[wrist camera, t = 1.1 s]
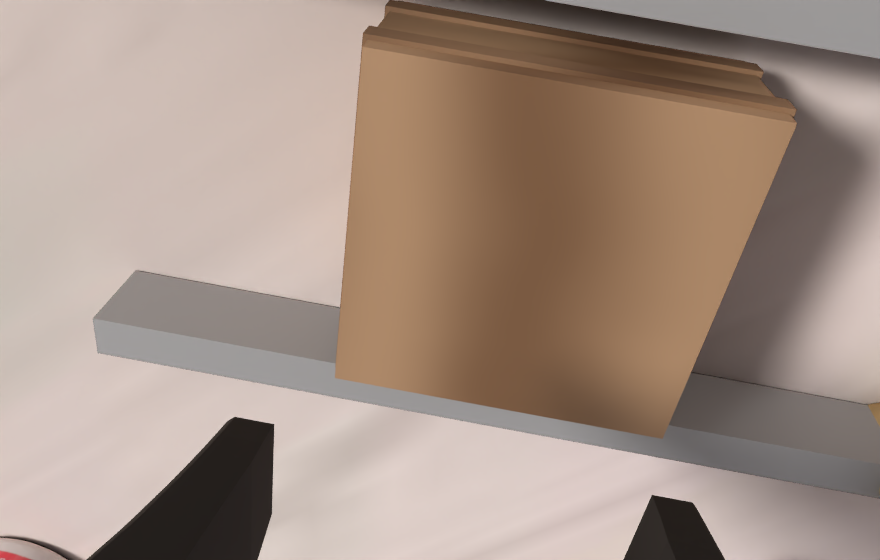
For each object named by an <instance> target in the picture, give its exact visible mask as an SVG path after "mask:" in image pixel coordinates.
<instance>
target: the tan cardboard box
mask: <svg viewBox="0 0 880 560" xmlns="http://www.w3.org/2000/svg"><path fill="white" fill-rule="evenodd" d="M763 73H764V72H763V71H762V69H761V68H760V67H759V66H758V65H757V64H754V63H748V62H745V61H740V60H735V59H729V58H723V57H717V56H712V55H706V54H700V53H695V52H689V51H683V50H677V49H672V48H666V47H660V46H655V45H649V44H643V43H638V42H632V41H626V40H620V39H615V38H609V37H603V36H598V35H592V34H586V33H580V32H575V31H569V30H563V29H558V28H552V27H546V26H541V25H535V24H529V23H523V22H518V21H512V20H506V19H501V18H495V17H489V16H483V15H478V14H472V13H466V12H461V11H455V10H449V9H444V8H438V7H432V6H426V5H421V4H415V3H409V2H404V1H394V0H390V1H389V2H388V3H387V4H386V6H385V16H384V19H383V20H382V22H381V23H380V24H379V26H378V27H374V26H369V27H368V28H367V29H366V30H365V32H364V33H363V40H362V52H361V64H360V76H359V88H358V100H357V112H356V124H355V136H354V148H353V160H352V172H351V184H350V196H349V208H348V220H347V232H346V244H345V256H344V268H343V280H342V292H341V304H340V316H339V328H338V340H337V352H336V364H335V368H336V369H335V378H337V379H342V380H348V381H353V382H358V383H364V384H369V385H375V386H380V387H385V388H391V389H396V390H402V391H407V392H412V393H418V394H423V395H428V396H434V397H439V398H445V399H450V400H455V401H461V402H466V403H472V404H477V405H482V406H488V407H493V408H499V409H504V410H509V411H515V412H520V413H525V414H531V415H536V416H542V417H547V418H552V419H558V420H563V421H569V422H574V423H579V424H585V425H590V426H595V427H601V428H606V429H612V430H617V431H622V432H628V433H633V434H639V435H644V436H649V437H655V438H660V439H663V437H664V434H665V432H666V430H667V427H668V425H669V423H670V420H671V418H672V416H673V413H674V411H675V409H676V406H677V404H678V402H679V399H680V397H681V395H682V392H683V390H684V388H685V385H686V383H687V381H688V378H689V376H690V374H691V371H692V369H693V366H694V364H695V362H696V359H697V357H698V355H699V352H700V350H701V348H702V345H703V343H704V341H705V338H706V336H707V334H708V331H709V329H710V327H711V324H712V322H713V320H714V317H715V315H716V313H717V310H718V308H719V306H720V303H721V301H722V299H723V296H724V294H725V292H726V289H727V287H728V285H729V282H730V280H731V278H732V275H733V273H734V270H735V268H736V266H737V263H738V261H739V259H740V256H741V254H742V252H743V249H744V247H745V245H746V242H747V240H748V238H749V235H750V233H751V231H752V228H753V226H754V224H755V221H756V219H757V217H758V214H759V212H760V210H761V207H762V205H763V203H764V200H765V198H766V196H767V193H768V191H769V189H770V186H771V184H772V182H773V179H774V177H775V175H776V172H777V170H778V167H779V165H780V163H781V160H782V158H783V156H784V153H785V151H786V149H787V146H788V144H789V142H790V139H791V137H792V135H793V132H794V130H795V128H796V125H797V122H796V121H795V120H794V119H793V118H794V116H795V113H796V111H797V109H796V108H795V107H794V106H793V105H792V104H791V103H790V101H789V100H788V99H783V98H777V97H775V96H774V95H773V94H772V93H771V91H770V90H769V89H768V88H767V87H766V86H765V84H764V83H763V82H762V81H761V78H762V75H763Z"/></svg>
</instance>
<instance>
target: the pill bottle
mask: <svg viewBox="0 0 880 560" xmlns="http://www.w3.org/2000/svg"><path fill="white" fill-rule="evenodd" d="M0 560H67V559H65V558H64V557H62V556H61V555H59V554H57V553H55V552H53V551H51V550H49V549H47V548H45V547H42V546H40V545H37V544H34V543H31V542H27V541H23V540H18V539H11V538H0Z"/></svg>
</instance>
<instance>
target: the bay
mask: <svg viewBox="0 0 880 560" xmlns="http://www.w3.org/2000/svg"><path fill="white" fill-rule="evenodd" d="M546 1H552V2H558V3H563V4H569V5H575V6H581V7H586V8H592V9H598V10H603V11H609V12H615V13H621V14H626V15H632V16H638V17H644V18H649V19H655V20H661V21H666V22H672V23H678V24H684V25H689V26H695V27H701V28H707V29H712V30H718V31H724V32H730V33H735V34H741V35H747V36H752V37H758V38H764V39H770V40H775V41H781V42H787V43H793V44H798V45H804V46H810V47H815V48H821V49H827V50H833V51H838V52H844V53H850V54H856V55H861V56H867V57H873V58H878V59H880V0H546ZM339 316H340V308H337V307H331V306H326V305H321V304H315V303H310V302H304V301H299V300H293V299H288V298H282V297H277V296H272V295H266V294H261V293H255V292H250V291H244V290H239V289H233V288H228V287H223V286H217V285H212V284H206V283H201V282H195V281H190V280H184V279H179V278H174V277H168V276H163V275H157V274H152V273H146V272H141V271H136V270H135V272H134V273H133V274H132V275H131V276H130V277H129V278H128V279H127V281H126V282H125V283H124V284H123V285H122V286H121V287H120V289H119V290H118V291H117V292H116V293H115V294H114V295H113V296H112V298H111V299H110V300H109V301H108V302H107V303H106V304H105V305H104V307H103V308H102V309H101V310H100V311H99V312H98V313H97V314H96V316H95V317H94V318H93V323H94V330H95V337H96V344H97V351H98V353H101V354H106V355H111V356H117V357H122V358H127V359H133V360H138V361H144V362H149V363H154V364H160V365H165V366H170V367H176V368H181V369H186V370H192V371H197V372H203V373H208V374H213V375H219V376H224V377H229V378H235V379H240V380H246V381H251V382H256V383H262V384H267V385H272V386H278V387H283V388H289V389H294V390H299V391H305V392H310V393H315V394H321V395H326V396H332V397H337V398H342V399H348V400H353V401H358V402H364V403H369V404H374V405H380V406H385V407H391V408H396V409H401V410H407V411H412V412H417V413H423V414H428V415H434V416H439V417H444V418H450V419H455V420H460V421H466V422H471V423H477V424H482V425H487V426H493V427H498V428H503V429H509V430H514V431H519V432H525V433H530V434H536V435H541V436H546V437H552V438H557V439H562V440H568V441H573V442H579V443H584V444H589V445H595V446H600V447H605V448H611V449H616V450H622V451H627V452H632V453H638V454H643V455H648V456H654V457H659V458H664V459H670V460H675V461H681V462H686V463H691V464H697V465H702V466H707V467H713V468H718V469H724V470H729V471H734V472H740V473H745V474H750V475H756V476H761V477H767V478H772V479H777V480H783V481H788V482H793V483H799V484H804V485H810V486H815V487H820V488H826V489H831V490H836V491H842V492H847V493H852V494H858V495H863V496H869V497H874V498H879V499H880V403H873V404H869V405H865V404H859V403H854V402H848V401H843V400H837V399H832V398H827V397H821V396H816V395H810V394H805V393H799V392H794V391H788V390H783V389H778V388H772V387H767V386H761V385H756V384H750V383H745V382H739V381H734V380H729V379H723V378H718V377H712V376H707V375H701V374H696V373H691V374H690V376H689V378H688V381H687V383H686V385H685V388H684V390H683V392H682V395H681V397H680V399H679V402H678V404H677V406H676V409H675V411H674V413H673V416H672V418H671V420H670V423H669V425H668V427H667V430H666V432H665V434H664V437H663V439H660V438H655V437H649V436H644V435H639V434H633V433H628V432H622V431H617V430H612V429H606V428H601V427H595V426H590V425H585V424H579V423H574V422H569V421H563V420H558V419H552V418H547V417H542V416H536V415H531V414H525V413H520V412H515V411H509V410H504V409H499V408H493V407H488V406H482V405H477V404H472V403H466V402H461V401H455V400H450V399H445V398H439V397H434V396H428V395H423V394H418V393H412V392H407V391H402V390H396V389H391V388H385V387H380V386H375V385H369V384H364V383H358V382H353V381H348V380H342V379H337V378H335V369H336V368H335V364H336V352H337V340H338V328H339Z"/></svg>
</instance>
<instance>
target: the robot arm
mask: <svg viewBox="0 0 880 560" xmlns="http://www.w3.org/2000/svg"><path fill="white" fill-rule="evenodd" d="M273 446H274V424H270V423H264V422H259V421H254V420H248V419H243V418H237V417H234V418H232V419H230V420H229V421H227V422H226V423H225V425H224V426H223V427H222V428H221V429H220V430H219V431H218V433H217V434H216V435H215V436H214V437H213V438H212V439H211V440H210V441H209V442H208V444H207V445H206V446H205V447H204V448H203V449H202V450H201V451H200V452H199V453H198V454H197V455H196V456H195V457H194V459H193V460H192V461H191V462H190V463H189V464H188V465H187V466H186V467H185V468H184V469H183V470H182V471H181V472H180V473H179V474H178V475H177V476H176V477H175V478H174V479H173V480H172V481H171V482H170V483H169V484H168V485H167V486H166V487H165V488H164V489H163V490H162V491H161V492H160V493H159V494H158V495H157V496H156V497H155V498H154V499H153V500H152V501H151V502H149V503H148V504H147V505H146V506H145V507H144V508H143V509H142V510H141V511H140V512H139V513H138V514H137V515H136V516H135V517H134V518H133V519H132V520H131V521H130V522H129V523H128V524H126V525H125V526H124V527H123V528H122V529H121V530H120V531H119V532H118V533H117V534H115V535H114V536H113V537H112V538H111V539H110V540H109V541H107V542H106V543H105V544H104V545H103V546H102V547H101V548H99V549H98V550H97V551H96V552H95V553H94V554H93V555H91V556H90V557H89V558H88V559H87V560H257V559H258V556H259V553H260V550H261V547H262V544H263V540H264V537H265V534H266V531H267V528H268V524H269V521H270V518H271V515H272V485H273ZM624 560H725V559H724V557H723V555H722V553H721V552H720V550H719V548H718V546H717V544H716V543H715V541H714V539H713V537H712V535H711V534H710V532H709V530H708V528H707V526H706V524H705V523H704V521H703V519H702V517H701V515H700V514H699V512H698V510H697V508H696V507H695V506H694V504H693V503H692V502H686V501H681V500H676V499H670V498H665V497H659V496H654V495H652V497H651V499H650V501H649V503H648V506H647V508H646V510H645V512H644V515H643V517H642V519H641V521H640V524H639V526H638V528H637V530H636V533H635V535H634V537H633V540H632V542H631V544H630V546H629V549H628V551H627V553H626V555H625V558H624Z"/></svg>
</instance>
